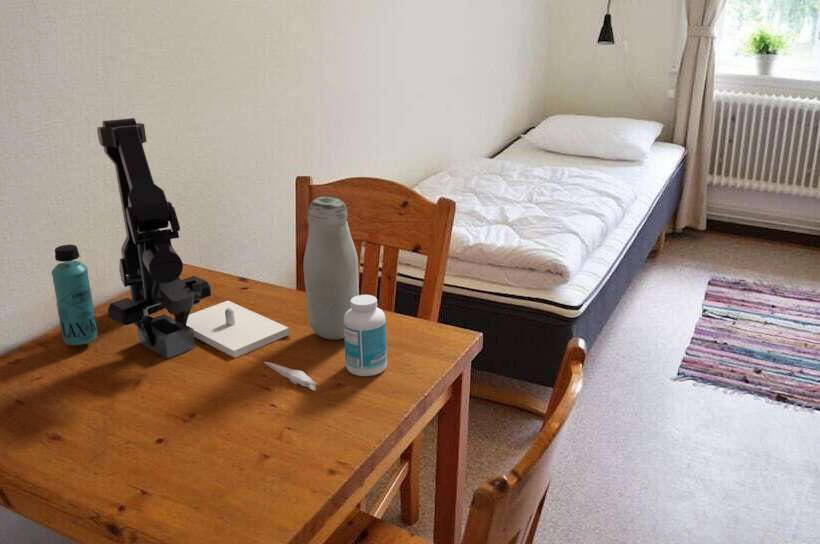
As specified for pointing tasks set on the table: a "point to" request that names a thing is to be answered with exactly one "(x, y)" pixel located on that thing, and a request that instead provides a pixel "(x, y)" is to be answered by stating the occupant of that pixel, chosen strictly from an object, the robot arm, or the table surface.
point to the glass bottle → (329, 267)
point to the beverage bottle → (73, 297)
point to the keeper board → (234, 328)
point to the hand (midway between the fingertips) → (166, 340)
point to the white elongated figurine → (294, 375)
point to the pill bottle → (365, 337)
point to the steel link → (169, 336)
